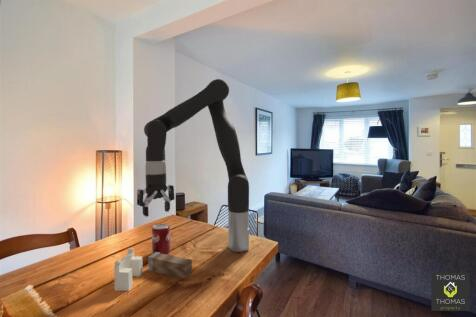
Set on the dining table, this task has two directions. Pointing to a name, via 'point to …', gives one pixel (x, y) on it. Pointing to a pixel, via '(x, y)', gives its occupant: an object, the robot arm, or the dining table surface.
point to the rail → (170, 265)
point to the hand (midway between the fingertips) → (156, 213)
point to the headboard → (127, 270)
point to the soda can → (161, 239)
